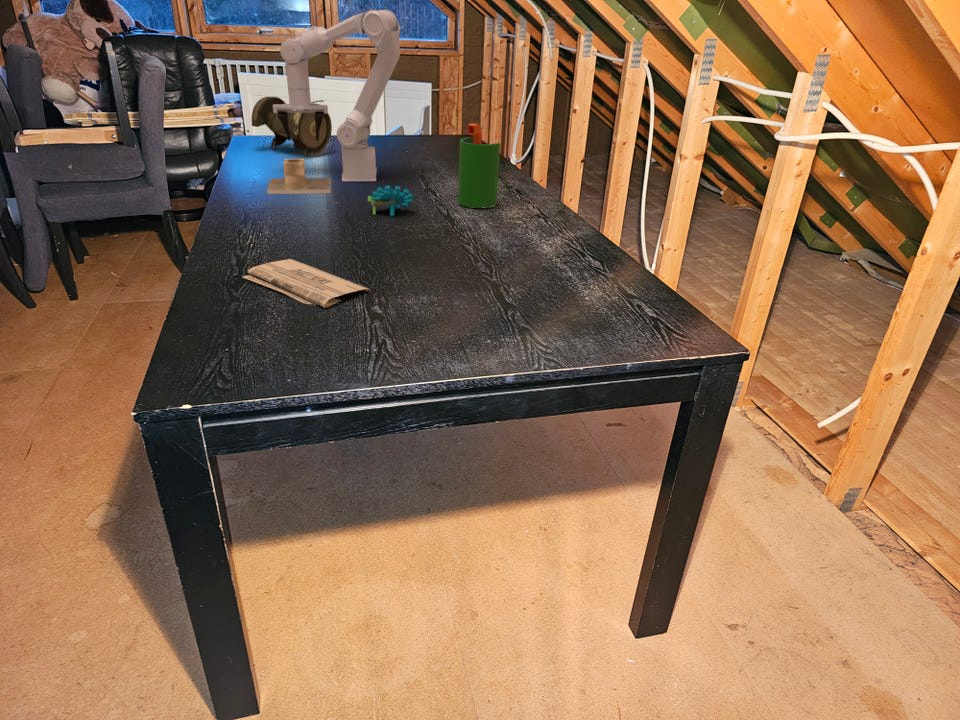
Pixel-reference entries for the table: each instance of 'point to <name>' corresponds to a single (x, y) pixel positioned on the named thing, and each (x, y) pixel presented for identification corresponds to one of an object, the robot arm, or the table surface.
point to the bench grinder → (293, 126)
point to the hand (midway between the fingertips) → (303, 139)
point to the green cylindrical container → (478, 170)
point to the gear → (390, 199)
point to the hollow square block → (294, 172)
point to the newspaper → (303, 282)
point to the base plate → (311, 186)
